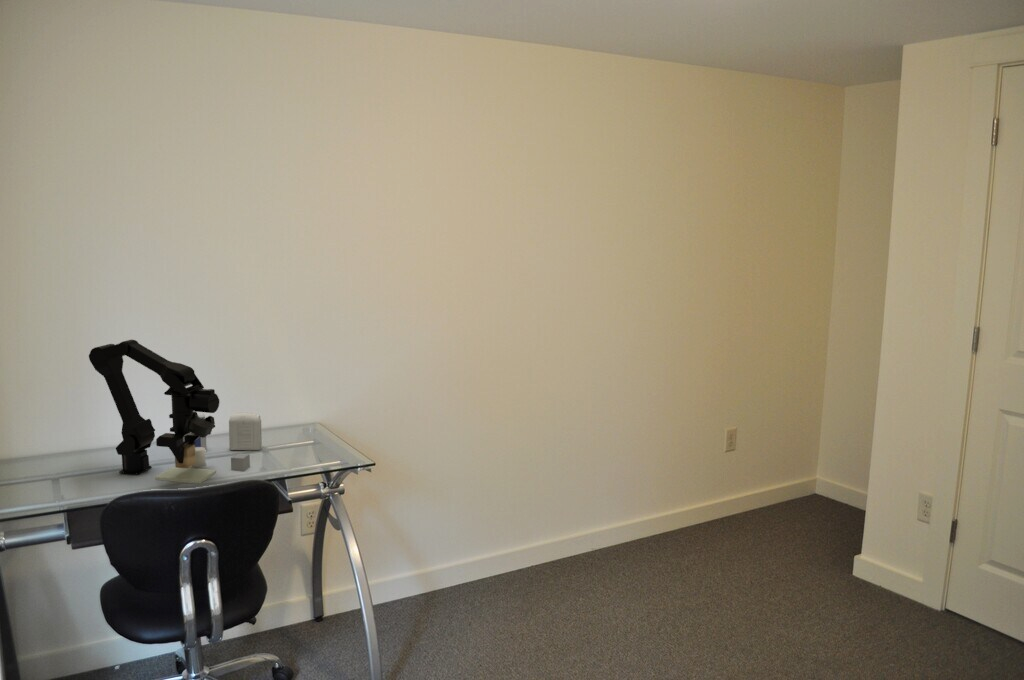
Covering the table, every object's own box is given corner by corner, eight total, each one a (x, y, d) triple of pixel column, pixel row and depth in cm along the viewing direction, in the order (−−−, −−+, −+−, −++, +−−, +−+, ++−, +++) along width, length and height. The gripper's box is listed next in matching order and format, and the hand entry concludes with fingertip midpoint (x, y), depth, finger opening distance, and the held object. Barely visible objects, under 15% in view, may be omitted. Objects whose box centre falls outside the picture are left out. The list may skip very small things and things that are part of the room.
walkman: (182, 454, 242) (180, 418, 240) (180, 452, 244) (178, 416, 242) (207, 450, 246) (206, 415, 244) (205, 448, 249) (204, 413, 247)
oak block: (175, 467, 221) (174, 447, 220) (183, 462, 225) (182, 443, 224) (188, 468, 221) (187, 448, 220) (195, 463, 225) (194, 444, 224)
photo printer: (263, 446, 252) (262, 411, 250) (260, 450, 248) (259, 414, 246) (231, 447, 251) (229, 411, 248) (228, 451, 246) (226, 414, 244)
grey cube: (231, 470, 230) (230, 457, 229) (237, 465, 234) (237, 453, 233) (243, 471, 229) (243, 458, 229) (249, 466, 233) (249, 454, 233)
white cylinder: (187, 466, 232) (186, 450, 231) (195, 461, 236) (194, 446, 235) (201, 467, 231) (200, 452, 230) (208, 462, 235) (208, 447, 234)
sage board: (155, 479, 220) (155, 477, 220) (173, 469, 229) (172, 466, 229) (199, 483, 218) (199, 480, 218) (216, 472, 227) (216, 470, 227)
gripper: (190, 420, 210) (193, 473, 212) (224, 403, 228) (226, 452, 231) (153, 417, 211) (156, 470, 214) (190, 401, 229) (192, 450, 232)
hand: (185, 460), depth 223 cm, fingers closed on oak block, 4 cm apart
